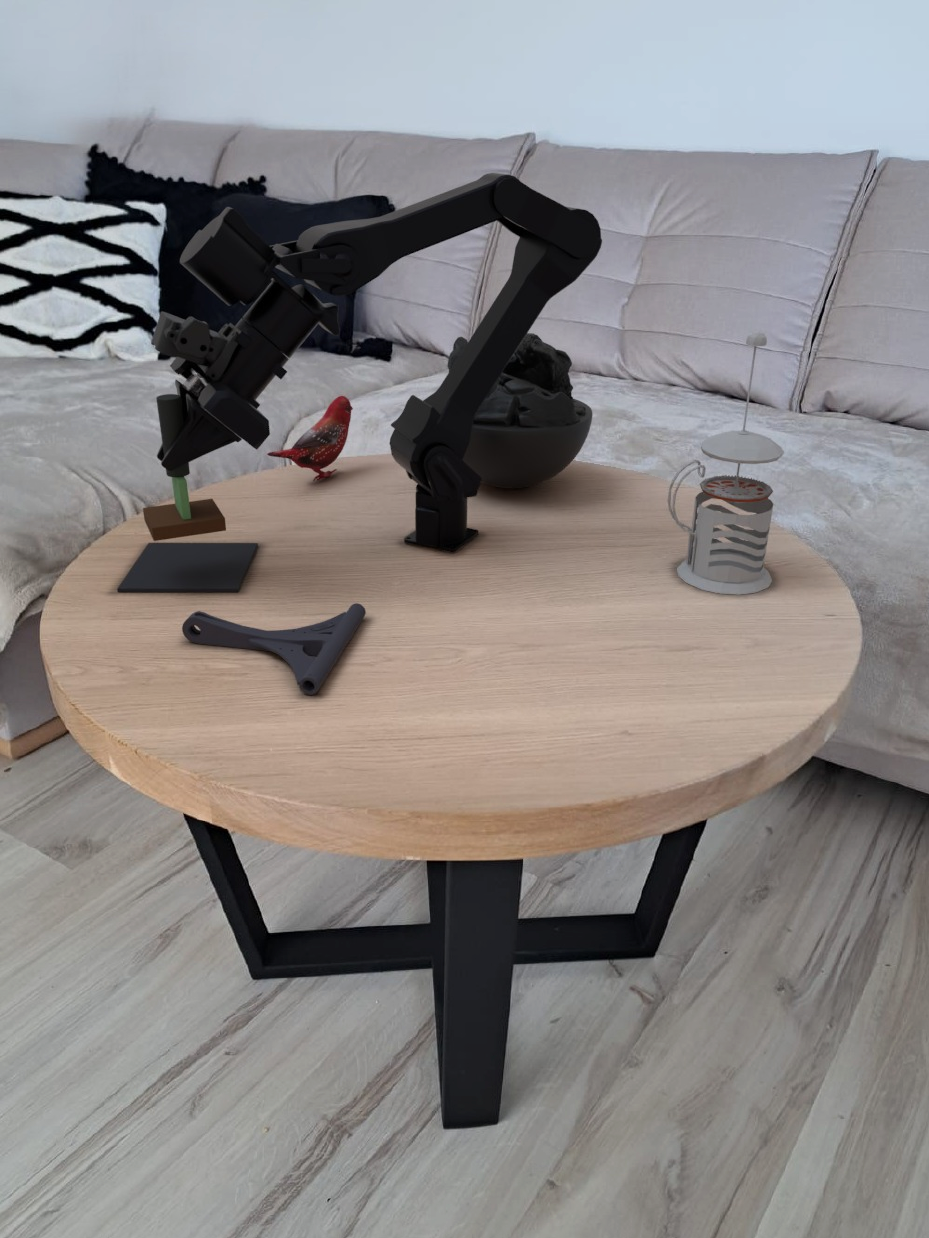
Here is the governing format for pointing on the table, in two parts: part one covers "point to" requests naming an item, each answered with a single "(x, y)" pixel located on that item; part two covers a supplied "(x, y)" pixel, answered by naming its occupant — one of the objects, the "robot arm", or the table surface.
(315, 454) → the decorative bird figurine
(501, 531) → the table surface
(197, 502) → the rubber stamp
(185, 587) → the mat
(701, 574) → the french press
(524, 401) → the bowl of black rocks
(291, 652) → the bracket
